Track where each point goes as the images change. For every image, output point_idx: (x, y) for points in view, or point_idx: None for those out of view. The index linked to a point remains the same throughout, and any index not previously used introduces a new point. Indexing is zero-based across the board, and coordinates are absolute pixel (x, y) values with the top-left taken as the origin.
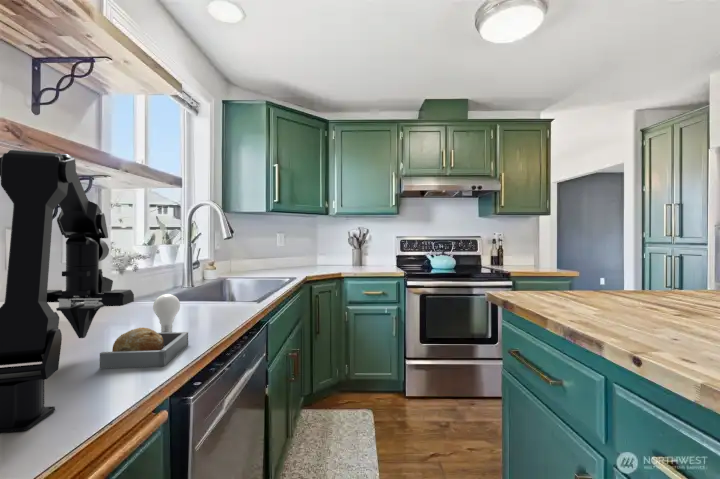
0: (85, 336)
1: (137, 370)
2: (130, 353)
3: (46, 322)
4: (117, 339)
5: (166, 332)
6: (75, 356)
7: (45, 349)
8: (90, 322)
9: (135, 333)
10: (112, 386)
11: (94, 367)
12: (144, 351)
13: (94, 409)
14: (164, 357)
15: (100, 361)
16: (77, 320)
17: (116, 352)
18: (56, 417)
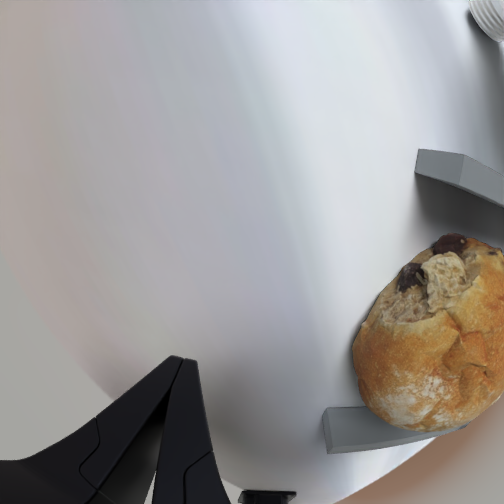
0: (196, 364)
1: None
2: (404, 442)
3: None
4: (387, 421)
5: (500, 38)
6: (172, 279)
7: None
8: (210, 453)
9: (452, 428)
10: (356, 463)
11: (305, 407)
12: (434, 434)
13: (338, 488)
14: None
15: (326, 432)
16: (142, 484)
17: (372, 447)
18: (302, 494)
